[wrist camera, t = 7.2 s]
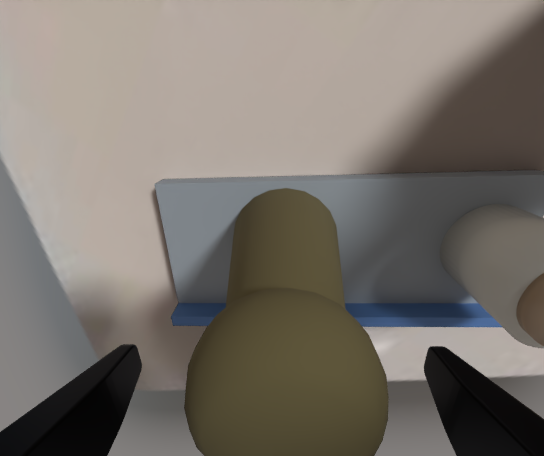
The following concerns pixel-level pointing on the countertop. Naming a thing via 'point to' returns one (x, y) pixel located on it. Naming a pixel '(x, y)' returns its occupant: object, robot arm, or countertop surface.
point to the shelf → (346, 239)
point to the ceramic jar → (501, 266)
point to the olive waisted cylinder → (286, 345)
